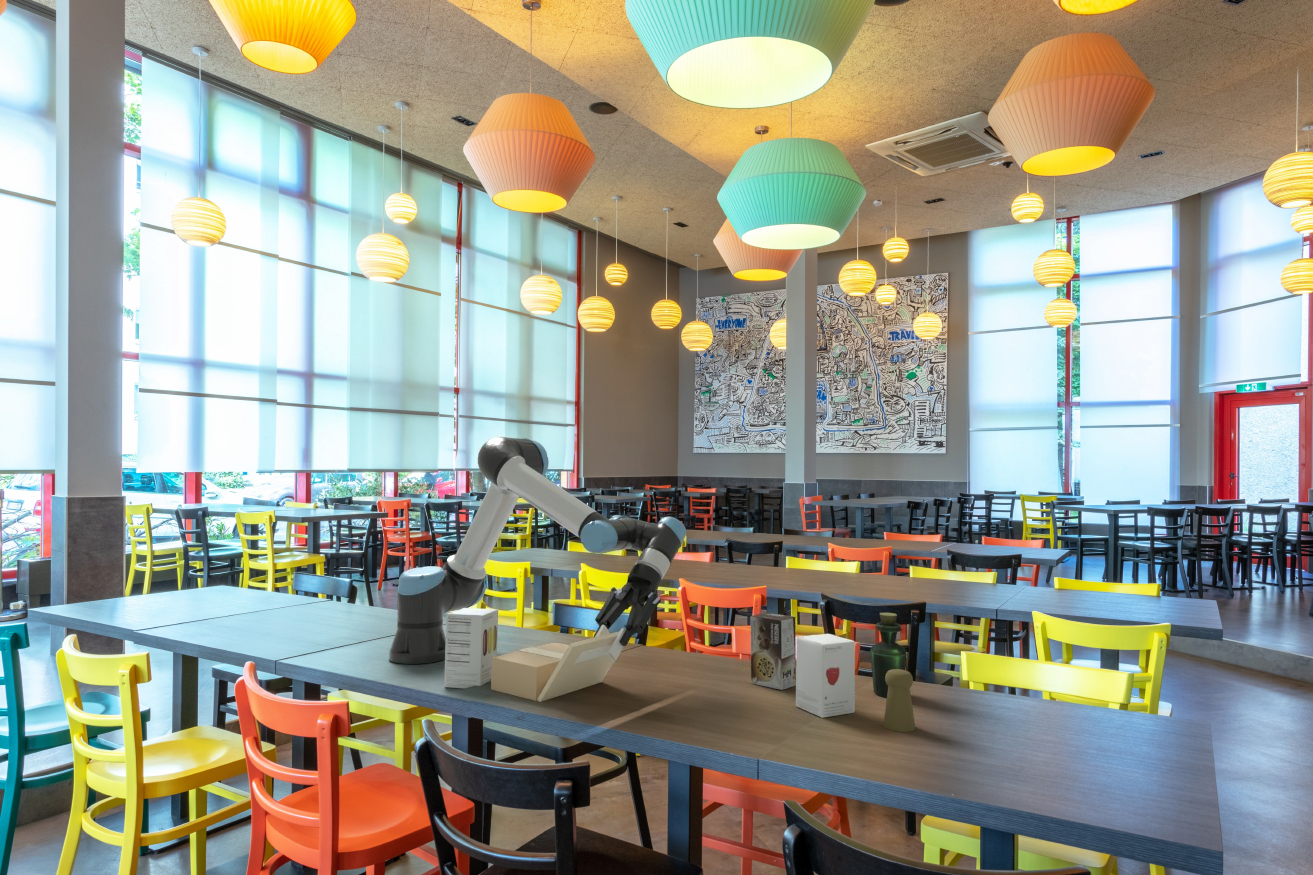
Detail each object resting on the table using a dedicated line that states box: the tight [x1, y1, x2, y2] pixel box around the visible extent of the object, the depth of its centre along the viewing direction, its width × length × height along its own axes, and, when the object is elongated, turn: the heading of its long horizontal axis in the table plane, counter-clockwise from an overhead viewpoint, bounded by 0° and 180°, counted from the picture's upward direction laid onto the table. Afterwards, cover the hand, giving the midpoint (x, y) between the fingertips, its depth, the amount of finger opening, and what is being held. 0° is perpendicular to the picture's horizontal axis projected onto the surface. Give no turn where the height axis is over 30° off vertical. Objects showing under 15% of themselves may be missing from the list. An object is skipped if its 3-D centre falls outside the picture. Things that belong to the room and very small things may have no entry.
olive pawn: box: [883, 669, 916, 733], centre depth 150 cm, size 6×6×11 cm
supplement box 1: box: [443, 607, 499, 689], centre depth 178 cm, size 10×9×17 cm
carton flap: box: [537, 630, 624, 703], centre depth 166 cm, size 1×20×16 cm
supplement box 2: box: [795, 633, 856, 719], centre depth 161 cm, size 9×9×15 cm
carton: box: [490, 642, 570, 702], centre depth 174 cm, size 14×20×8 cm
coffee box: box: [750, 612, 797, 691], centre depth 180 cm, size 9×6×16 cm
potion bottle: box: [869, 612, 908, 698], centre depth 173 cm, size 8×8×18 cm
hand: (602, 654), depth 167 cm, fingers closed on carton flap, 5 cm apart
